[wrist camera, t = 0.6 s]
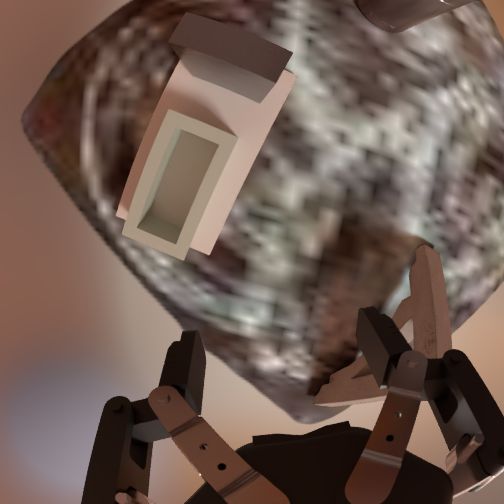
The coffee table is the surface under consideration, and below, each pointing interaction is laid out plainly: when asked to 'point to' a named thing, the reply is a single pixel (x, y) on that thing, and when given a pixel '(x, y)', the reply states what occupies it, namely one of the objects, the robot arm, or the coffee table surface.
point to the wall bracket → (410, 325)
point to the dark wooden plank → (229, 56)
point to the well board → (194, 162)
